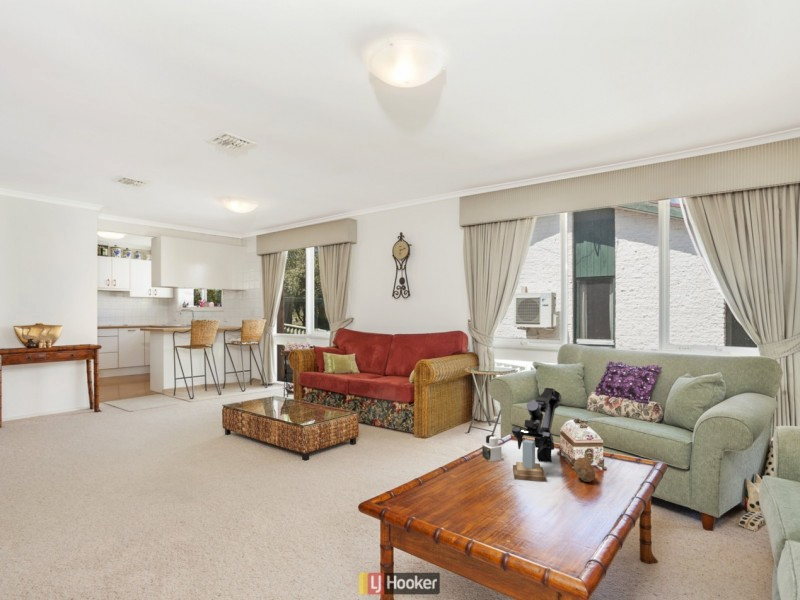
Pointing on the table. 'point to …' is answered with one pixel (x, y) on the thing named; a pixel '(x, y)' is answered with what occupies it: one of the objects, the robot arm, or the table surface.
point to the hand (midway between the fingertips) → (528, 450)
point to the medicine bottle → (491, 449)
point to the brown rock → (584, 469)
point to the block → (529, 454)
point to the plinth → (529, 477)
